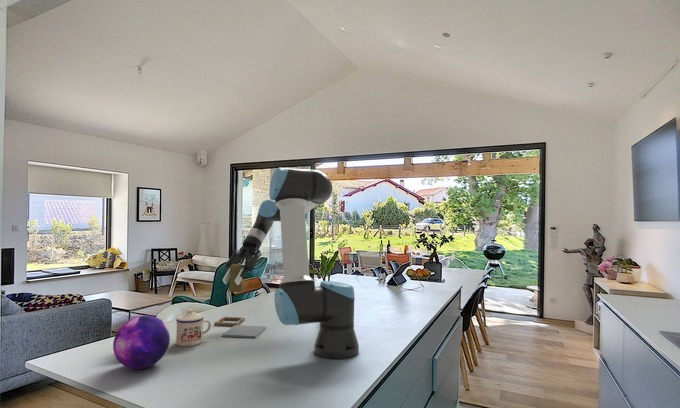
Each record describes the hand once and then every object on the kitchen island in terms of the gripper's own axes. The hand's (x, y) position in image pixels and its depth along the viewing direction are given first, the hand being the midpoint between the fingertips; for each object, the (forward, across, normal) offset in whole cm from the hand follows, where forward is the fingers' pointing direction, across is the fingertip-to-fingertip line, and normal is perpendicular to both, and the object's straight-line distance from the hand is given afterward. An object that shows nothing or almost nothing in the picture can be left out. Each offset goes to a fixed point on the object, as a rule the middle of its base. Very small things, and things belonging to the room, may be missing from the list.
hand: (230, 282), depth 156 cm
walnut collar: (+8, +5, -17) cm, 20 cm away
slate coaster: (+15, -9, -11) cm, 21 cm away
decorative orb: (+44, -1, +18) cm, 48 cm away
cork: (0, 0, -6) cm, 6 cm away
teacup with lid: (+27, +1, +1) cm, 27 cm away
